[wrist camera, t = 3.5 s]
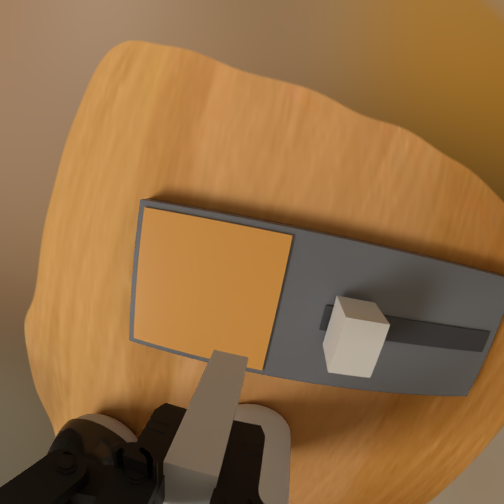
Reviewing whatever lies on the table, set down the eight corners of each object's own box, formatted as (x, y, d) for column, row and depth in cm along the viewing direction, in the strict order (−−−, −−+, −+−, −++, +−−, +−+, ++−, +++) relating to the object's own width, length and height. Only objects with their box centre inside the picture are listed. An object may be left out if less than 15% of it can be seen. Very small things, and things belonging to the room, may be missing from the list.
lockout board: (460, 388, 25) (467, 397, 24) (136, 333, 27) (128, 341, 26) (505, 275, 23) (515, 280, 21) (148, 198, 25) (139, 199, 23)
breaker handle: (359, 350, 23) (370, 377, 19) (322, 344, 23) (328, 372, 20) (374, 302, 22) (390, 324, 18) (336, 295, 23) (346, 317, 19)
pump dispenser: (91, 383, 29) (9, 472, 15) (169, 440, 30) (118, 548, 15) (69, 424, 32) (6, 499, 17) (135, 472, 32) (90, 558, 17)
